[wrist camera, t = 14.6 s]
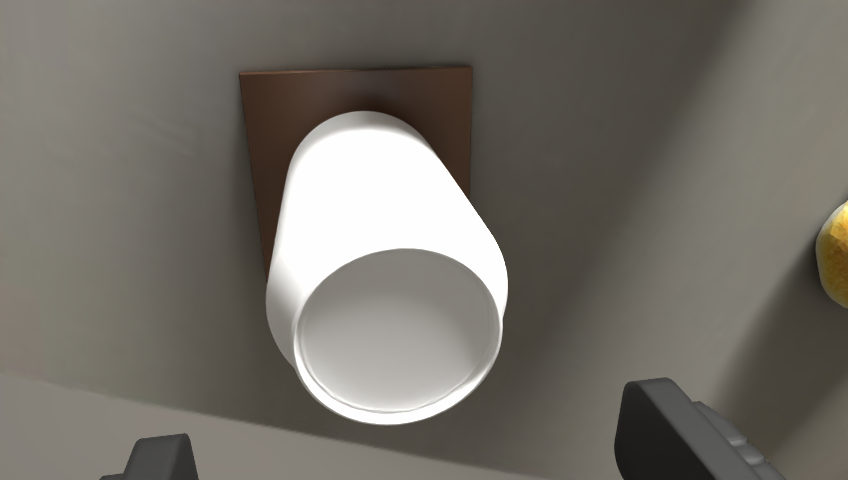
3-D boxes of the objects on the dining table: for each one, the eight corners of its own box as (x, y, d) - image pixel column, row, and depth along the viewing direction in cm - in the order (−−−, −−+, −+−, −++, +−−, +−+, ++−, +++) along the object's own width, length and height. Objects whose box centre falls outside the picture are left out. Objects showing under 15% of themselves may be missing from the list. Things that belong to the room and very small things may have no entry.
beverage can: (466, 170, 24) (582, 317, 14) (372, 273, 26) (410, 483, 15) (353, 71, 22) (384, 155, 11) (255, 191, 23) (200, 369, 12)
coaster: (267, 280, 26) (266, 285, 25) (240, 71, 22) (238, 73, 21) (464, 264, 27) (467, 269, 26) (469, 65, 23) (472, 66, 23)
